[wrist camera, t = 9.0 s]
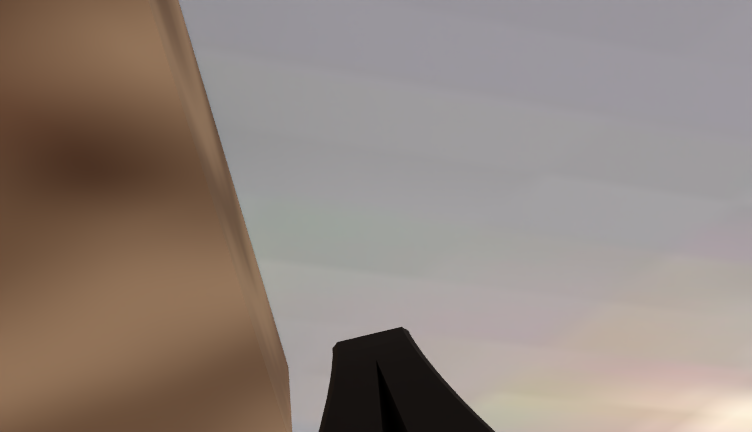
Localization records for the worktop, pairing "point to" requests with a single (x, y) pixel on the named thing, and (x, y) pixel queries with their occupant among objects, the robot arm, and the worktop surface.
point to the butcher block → (123, 234)
